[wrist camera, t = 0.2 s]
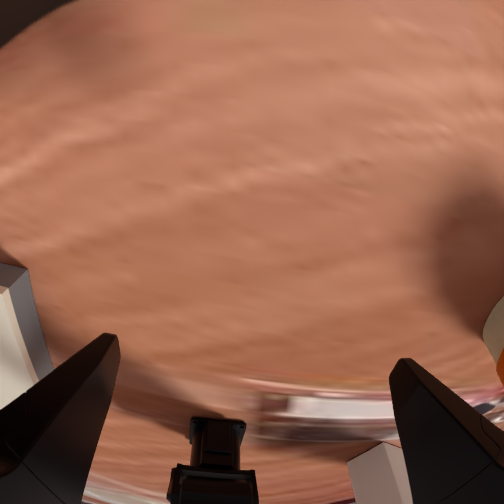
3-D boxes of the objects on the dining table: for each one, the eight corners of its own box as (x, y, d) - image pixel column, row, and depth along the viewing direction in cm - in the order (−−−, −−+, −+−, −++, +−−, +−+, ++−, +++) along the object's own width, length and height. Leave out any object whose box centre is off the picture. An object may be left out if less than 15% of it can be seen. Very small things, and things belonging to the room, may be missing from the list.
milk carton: (368, 467, 42) (390, 556, 25) (346, 461, 40) (367, 561, 23) (402, 448, 40) (432, 540, 23) (382, 440, 38) (414, 545, 21)
